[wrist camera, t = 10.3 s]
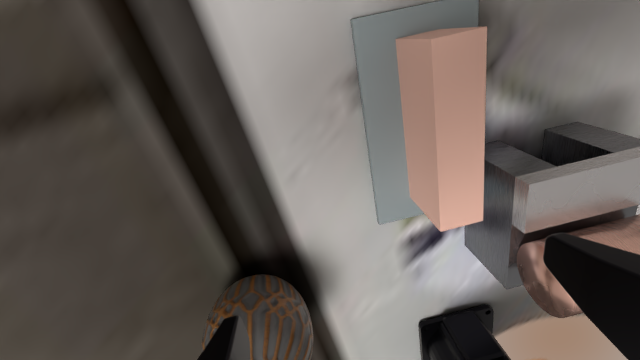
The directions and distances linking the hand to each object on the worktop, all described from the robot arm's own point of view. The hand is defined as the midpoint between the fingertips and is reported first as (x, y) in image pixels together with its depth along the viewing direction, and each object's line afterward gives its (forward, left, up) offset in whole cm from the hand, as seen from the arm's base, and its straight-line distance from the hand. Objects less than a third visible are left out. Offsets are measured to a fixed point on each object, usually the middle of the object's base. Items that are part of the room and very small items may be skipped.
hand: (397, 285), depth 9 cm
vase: (-10, +7, -12) cm, 17 cm away
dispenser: (-6, -13, -12) cm, 19 cm away
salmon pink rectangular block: (+1, -6, -12) cm, 13 cm away
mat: (0, -6, -12) cm, 13 cm away
